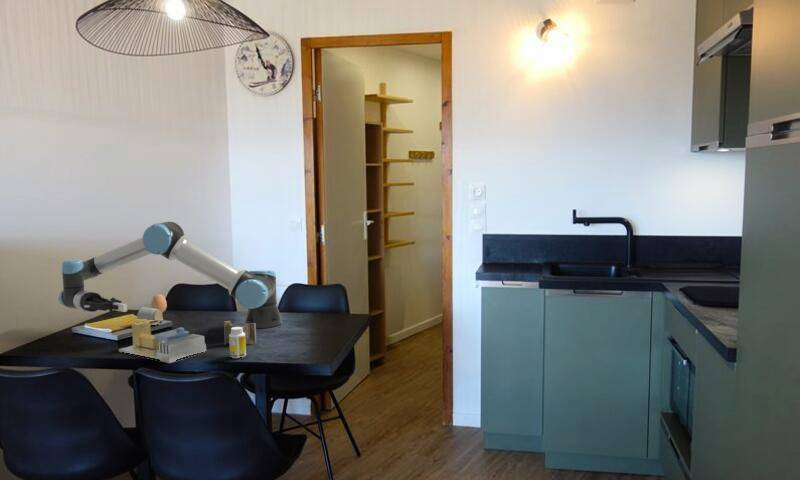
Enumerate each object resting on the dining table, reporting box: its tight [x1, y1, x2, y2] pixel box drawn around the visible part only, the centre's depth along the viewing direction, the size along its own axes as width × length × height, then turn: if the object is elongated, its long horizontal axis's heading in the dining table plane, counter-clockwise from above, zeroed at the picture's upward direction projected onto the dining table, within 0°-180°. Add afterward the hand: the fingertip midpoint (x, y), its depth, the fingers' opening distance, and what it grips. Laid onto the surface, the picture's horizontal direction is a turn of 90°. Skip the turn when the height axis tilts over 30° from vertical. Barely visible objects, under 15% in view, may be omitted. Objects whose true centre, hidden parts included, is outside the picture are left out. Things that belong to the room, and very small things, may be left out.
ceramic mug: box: [136, 306, 164, 321], centre depth 281 cm, size 11×8×8 cm
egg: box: [150, 293, 168, 314], centre depth 302 cm, size 7×7×9 cm
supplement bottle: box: [228, 327, 247, 359], centre depth 230 cm, size 6×6×10 cm
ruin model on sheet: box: [223, 320, 257, 346], centre depth 248 cm, size 11×3×10 cm, turn 96°
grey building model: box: [118, 326, 207, 364], centre depth 238 cm, size 28×16×8 cm, turn 57°
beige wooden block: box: [131, 321, 163, 349], centre depth 242 cm, size 11×5×8 cm, turn 57°
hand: (125, 308), depth 247 cm, fingers closed
